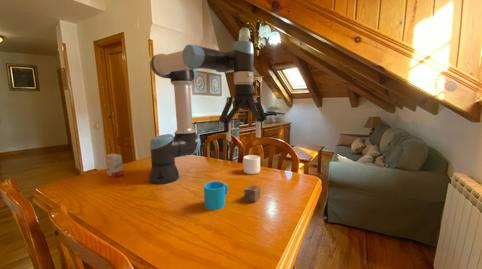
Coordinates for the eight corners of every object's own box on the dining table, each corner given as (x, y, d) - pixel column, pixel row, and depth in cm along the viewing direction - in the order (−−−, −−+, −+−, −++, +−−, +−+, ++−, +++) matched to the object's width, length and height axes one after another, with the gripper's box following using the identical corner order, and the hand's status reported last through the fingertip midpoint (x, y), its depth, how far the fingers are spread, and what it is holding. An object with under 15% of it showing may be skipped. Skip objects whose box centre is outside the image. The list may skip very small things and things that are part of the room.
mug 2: (250, 167, 130) (250, 153, 129) (265, 170, 124) (265, 155, 123) (239, 172, 120) (239, 157, 119) (254, 176, 114) (254, 160, 113)
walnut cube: (244, 200, 86) (244, 188, 85) (249, 195, 91) (249, 184, 90) (255, 203, 84) (255, 191, 83) (260, 198, 88) (260, 186, 87)
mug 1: (215, 212, 77) (215, 191, 76) (200, 206, 82) (199, 186, 80) (234, 199, 87) (234, 181, 85) (220, 195, 91) (219, 177, 90)
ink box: (123, 175, 118) (121, 154, 116) (114, 177, 114) (112, 156, 112) (116, 172, 123) (114, 153, 121) (107, 174, 119) (104, 154, 117)
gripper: (217, 82, 70) (218, 143, 74) (275, 84, 82) (274, 137, 86) (209, 83, 77) (211, 140, 80) (264, 86, 89) (264, 134, 92)
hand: (244, 138), depth 83 cm, fingers open, 13 cm apart
